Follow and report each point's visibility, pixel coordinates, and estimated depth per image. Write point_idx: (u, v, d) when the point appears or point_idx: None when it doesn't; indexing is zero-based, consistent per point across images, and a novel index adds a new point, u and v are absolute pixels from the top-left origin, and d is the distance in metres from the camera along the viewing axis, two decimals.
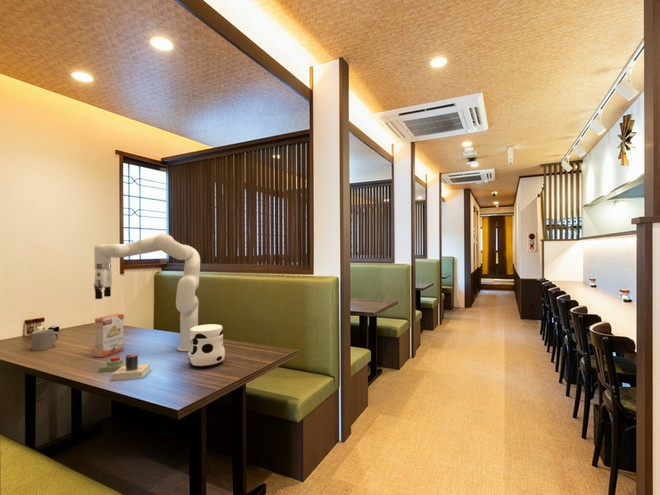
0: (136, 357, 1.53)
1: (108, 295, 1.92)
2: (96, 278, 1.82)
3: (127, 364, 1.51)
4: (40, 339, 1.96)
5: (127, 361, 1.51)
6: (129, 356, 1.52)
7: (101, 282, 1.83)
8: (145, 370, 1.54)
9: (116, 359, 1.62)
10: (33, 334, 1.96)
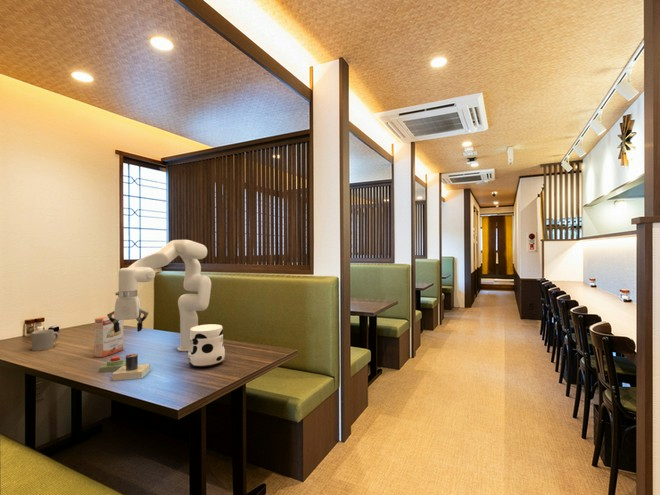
0: (136, 357, 1.53)
1: None
2: None
3: (127, 364, 1.51)
4: (40, 339, 1.96)
5: (127, 361, 1.51)
6: (129, 356, 1.52)
7: None
8: (145, 370, 1.54)
9: (116, 359, 1.62)
10: (33, 334, 1.96)
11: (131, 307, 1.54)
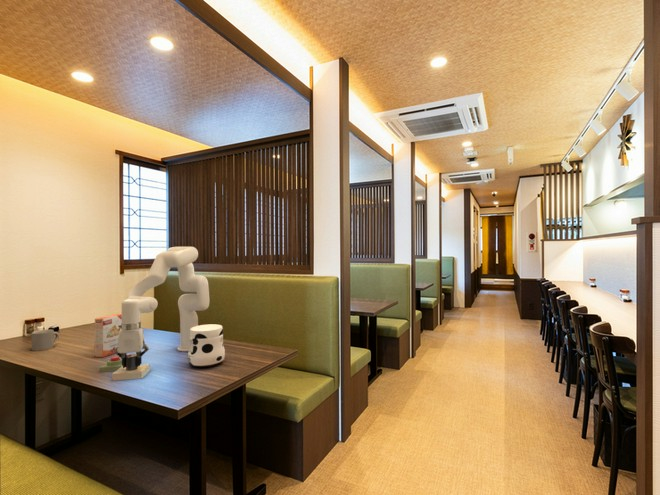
0: (136, 357, 1.53)
1: None
2: None
3: (127, 364, 1.51)
4: (40, 339, 1.96)
5: (127, 361, 1.51)
6: (129, 356, 1.52)
7: None
8: (145, 370, 1.54)
9: (116, 359, 1.62)
10: (33, 334, 1.96)
11: (135, 340, 1.52)
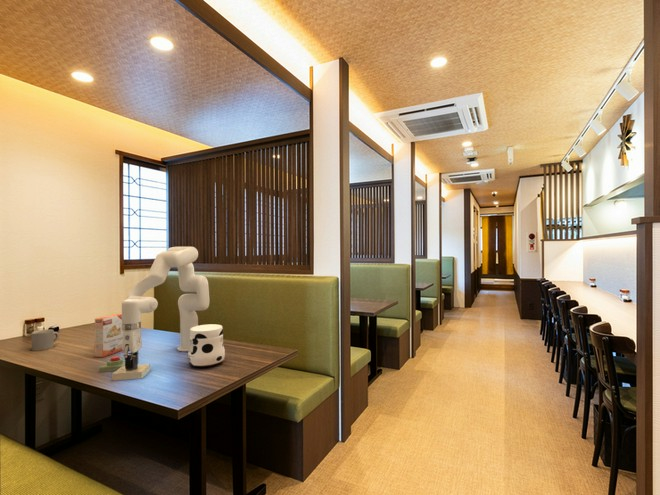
0: None
1: None
2: (124, 342, 1.49)
3: (136, 362, 1.53)
4: (40, 339, 1.96)
5: (136, 360, 1.53)
6: (134, 355, 1.54)
7: (130, 347, 1.49)
8: (145, 370, 1.54)
9: (116, 359, 1.62)
10: (33, 334, 1.96)
11: (140, 337, 1.57)
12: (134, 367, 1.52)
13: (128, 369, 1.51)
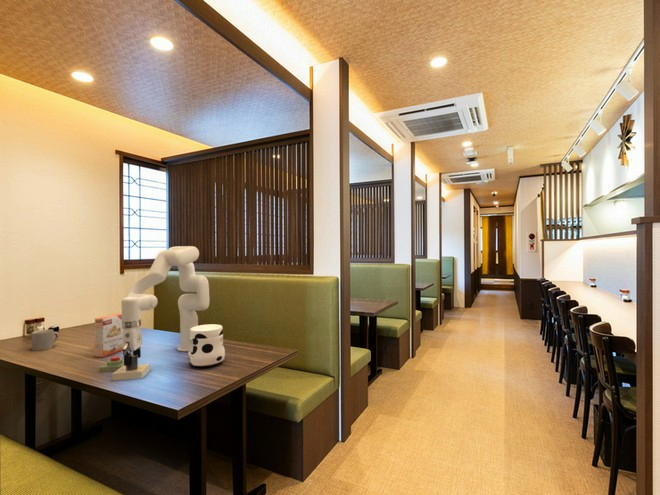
0: None
1: (138, 356, 1.59)
2: (125, 340, 1.49)
3: (136, 362, 1.53)
4: (40, 339, 1.96)
5: (136, 360, 1.53)
6: (134, 355, 1.54)
7: (131, 345, 1.49)
8: (145, 370, 1.54)
9: (116, 359, 1.62)
10: (33, 334, 1.96)
11: (140, 334, 1.57)
12: (134, 367, 1.52)
13: (128, 369, 1.51)
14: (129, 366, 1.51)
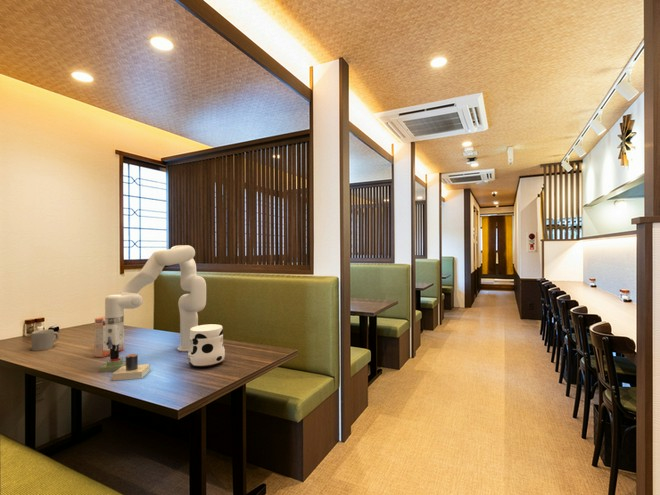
0: None
1: None
2: (107, 335, 1.58)
3: (136, 362, 1.53)
4: (40, 339, 1.96)
5: (136, 360, 1.53)
6: (134, 355, 1.54)
7: (113, 340, 1.59)
8: (145, 370, 1.54)
9: (116, 360, 1.62)
10: (33, 334, 1.96)
11: (122, 330, 1.66)
12: (134, 367, 1.52)
13: (128, 369, 1.51)
14: (129, 366, 1.51)
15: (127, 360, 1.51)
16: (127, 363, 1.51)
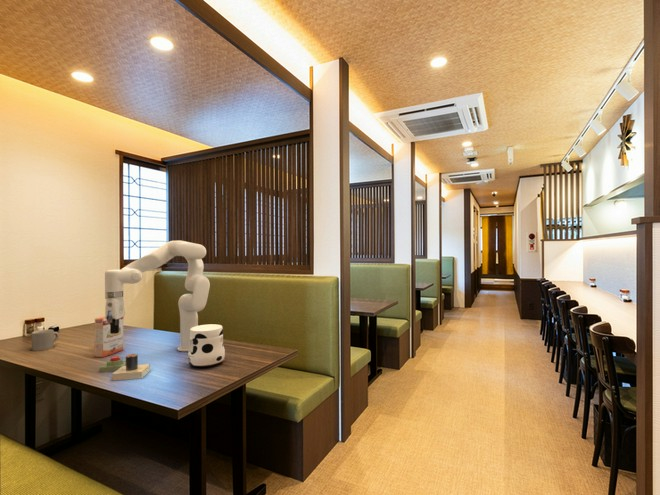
0: None
1: None
2: (107, 309, 1.59)
3: (136, 362, 1.53)
4: (40, 339, 1.96)
5: (136, 360, 1.53)
6: (134, 355, 1.54)
7: (113, 314, 1.59)
8: (145, 370, 1.54)
9: (116, 359, 1.62)
10: (33, 334, 1.96)
11: (122, 305, 1.67)
12: (134, 367, 1.52)
13: (128, 369, 1.51)
14: (129, 366, 1.51)
15: (127, 360, 1.51)
16: (127, 363, 1.51)
